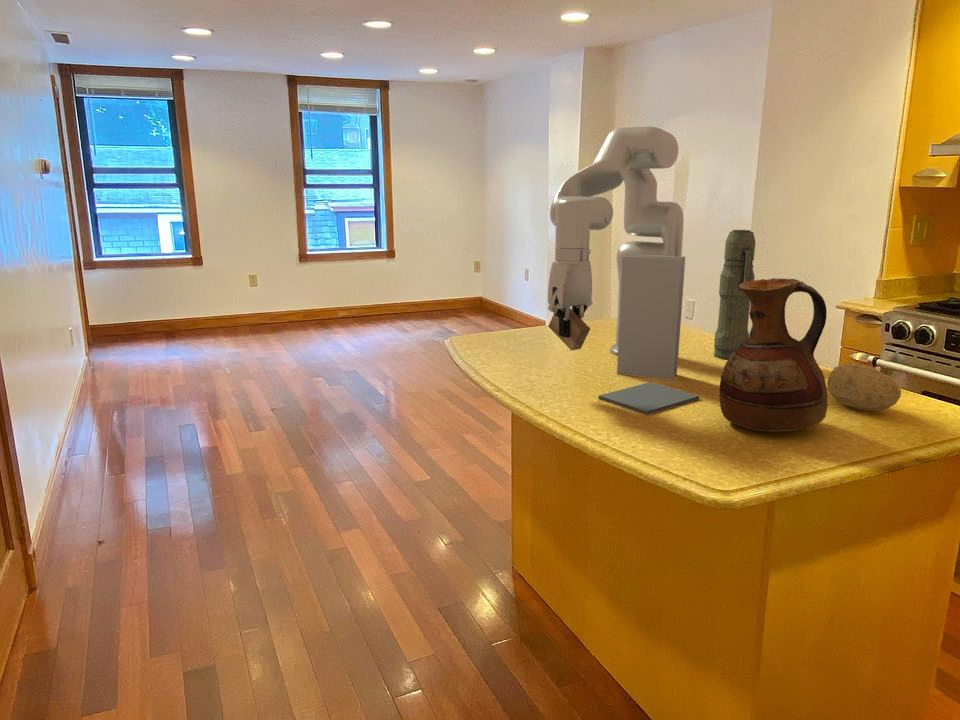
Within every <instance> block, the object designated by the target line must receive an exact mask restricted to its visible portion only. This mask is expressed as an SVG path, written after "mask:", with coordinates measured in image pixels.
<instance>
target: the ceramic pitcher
mask: <svg viewBox="0 0 960 720" xmlns="http://www.w3.org/2000/svg"><path fill="white" fill-rule="evenodd" d="M739 288H740V289H741V290H742V291H743V292H744V293H745V294H746V295H747V296H748V298H749V300H750V309H749V317H750V321H751V324H752V325H751V328H750V332H749V338H748V339H747V340H746V341H745V342H743V343H742V344H740V345H739V346H738V348H737V349H736V350H735V351H734V352H733V353H732V354H731V356H730V357H729V359H728V360H726V362H725V364H724V366H723V370H722V373H721V376H720V381H719V391H718V392H719V393H718V395H719V397H718V398H719V405H720V406H719V407H720V410H721V413H722V416H723V418H724V419H726V420H727V421H728V422H730V423H731V424H734V425H736V426H738V427H741V428H745V429H749V430H752V431H753V430H754V431H759V432H795V431H800V430H802V429H803V430H804V429H807V428H809V427H812V426H816V425H818V424H819V423H821V422H822V421H823V420H824V419H825V418H826V416H827V410H828V404H829V397H828V396H829V395H828V393H829V392H828V386H827V382H826V379H825V376H824V374H823V371H822V369H821V367H820V366H819V364H818V363H817V361H816V359H815V357H814V355H815V354H814V353H815V350H816V347H817V345H818V343H819V340H820V338H821V336H822V334H823V331H824V328H825V326H826V321H827V306H826V301H825V299H824V298H823V297H822V295H821V294H820V293H819V292H818V290H816V288H814V287H813V286H810V285H808V284H806V283H805V282H804V281H802V280H801V281H800V280H799V279H795V278H769V279H764V278H763V279H754V280H753V281H748V282H743V283H741V284H740V285H739ZM799 292H800V293H802V292H803V293H806V294H808V295H809V296H810V298H811V301H812V306H813V317H812V321H811V324H810V326H809V328H808V330H807V332H806V333H805V335H804V337H803V338H801V340H799V339H796V338H794V337H792V336H791V335H790V334H789V331H788V328H787V324H786V305H787V300H788V298H789V297H790V296H791V295H792V294H794V293H799Z"/></svg>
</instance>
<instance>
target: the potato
mask: <svg viewBox="0 0 960 720" xmlns="http://www.w3.org/2000/svg"><path fill="white" fill-rule="evenodd" d="M826 387H827V393H829V394H830V395H831V396H832V398H833V399H834V400H835V401H836V402H838V403H840V404H842V405H845V406H848V407H850V408H852V409H855V410H859V411H864V412H865V411H866V412H867V411H875V412H876V411H877V412H878V411H883V410H887V409H890V408H891V407H892V406H894V405H896V404H897V403H898V401H899V400H900V398H901V396H902V390H901V387H900V385H899V384H898V382H897V381H896V380H895V379H893V378H892V377H890V376H889V375H887V374H886V373H884V372H881V371H879V370H877V368H874V367H873V366H871V365H864V364H859V363H843V364H840V365H838V366H837V365H836V366H835V367H834V368H833V369H832V370H831V372H830V373H829V376H828V379H827V382H826Z"/></svg>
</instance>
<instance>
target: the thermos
mask: <svg viewBox="0 0 960 720" xmlns="http://www.w3.org/2000/svg"><path fill="white" fill-rule="evenodd" d="M724 246H725V247H724V255H723V257H724V264H723V269H722V271H721V272H720V277H719V287H718V288H719V289H718V294H719V295H718V296H719V306H718V307H719V308H718V310H719V311H718V318H717V319H718V321H717V328H716V331H715V333H714V340H713V341H714V345H713V347H714V353H713V356H714V358H717V359H720V360H726V361H727V360H728V359H729V357H730V356H731V354H732V353H733V352H734V351H735V350H736V349H737V348H738V346H739V345H740V344H742V343H743V342H745V341H746V340H747V339H748V338H749V335H750V332H749V329H748V327H749V320H750V319H749V317H750V300H749V298H748V296H747V295H746V294H745V293H744V292H743V291H742V290H741V289H740V288H739V285H740V284H741V283H743V282H748V281H753V280H755V277H756V276H755V273H754V260H755V251H756V238H755V233H754V232H753V231H751V230H749V229H733V230H732V231H729V232H728V235H727V237H726V240H725V245H724Z"/></svg>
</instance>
